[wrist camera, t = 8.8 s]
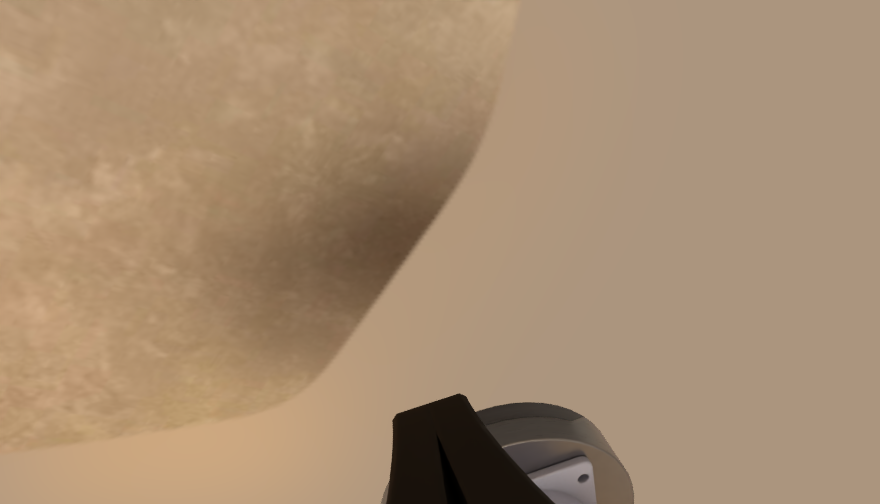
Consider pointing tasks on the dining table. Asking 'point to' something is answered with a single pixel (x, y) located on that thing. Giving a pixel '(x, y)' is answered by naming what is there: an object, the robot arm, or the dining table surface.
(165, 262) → the dining table surface
